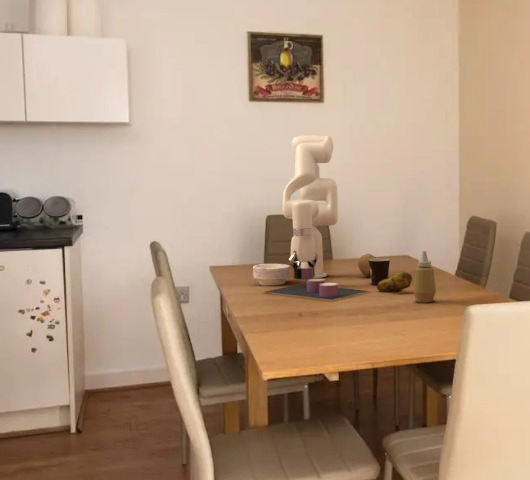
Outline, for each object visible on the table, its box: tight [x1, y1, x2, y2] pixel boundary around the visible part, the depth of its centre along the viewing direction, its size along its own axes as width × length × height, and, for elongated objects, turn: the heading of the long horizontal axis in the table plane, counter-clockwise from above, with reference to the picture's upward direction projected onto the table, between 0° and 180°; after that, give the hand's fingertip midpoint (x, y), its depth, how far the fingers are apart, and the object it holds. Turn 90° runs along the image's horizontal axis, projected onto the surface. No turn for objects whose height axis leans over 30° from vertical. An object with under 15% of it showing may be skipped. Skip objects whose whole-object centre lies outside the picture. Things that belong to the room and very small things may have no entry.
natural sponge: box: [357, 253, 377, 278], centre depth 336 cm, size 9×9×10 cm
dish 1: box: [298, 266, 315, 281], centre depth 309 cm, size 7×7×4 cm
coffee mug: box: [369, 257, 391, 286], centre depth 318 cm, size 12×9×10 cm
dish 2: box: [319, 282, 339, 298], centre depth 287 cm, size 7×7×4 cm
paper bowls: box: [252, 263, 291, 286], centre depth 319 cm, size 15×15×8 cm
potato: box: [377, 271, 413, 293], centre depth 296 cm, size 8×13×8 cm, turn 72°
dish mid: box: [305, 278, 326, 293], centre depth 298 cm, size 7×7×4 cm
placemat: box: [264, 283, 368, 301], centre depth 299 cm, size 34×22×1 cm, turn 55°
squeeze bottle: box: [413, 250, 437, 304], centre depth 275 cm, size 8×8×18 cm
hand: (304, 277), depth 309 cm, fingers closed on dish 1, 7 cm apart
